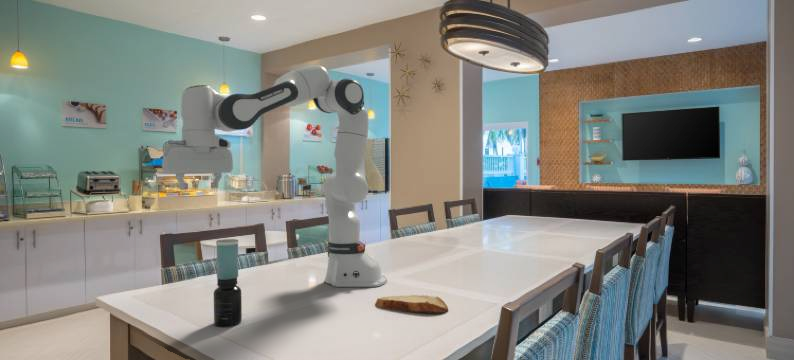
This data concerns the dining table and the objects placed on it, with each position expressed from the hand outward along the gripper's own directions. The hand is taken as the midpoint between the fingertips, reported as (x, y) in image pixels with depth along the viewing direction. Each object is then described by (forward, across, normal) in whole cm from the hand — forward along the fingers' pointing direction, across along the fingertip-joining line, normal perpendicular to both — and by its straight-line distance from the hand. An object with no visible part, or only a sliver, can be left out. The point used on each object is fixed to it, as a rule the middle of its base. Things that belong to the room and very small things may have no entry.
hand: (199, 189), depth 132 cm
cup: (+23, -4, -19) cm, 30 cm away
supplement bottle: (+35, -4, -19) cm, 40 cm away
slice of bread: (+36, +35, -50) cm, 71 cm away
